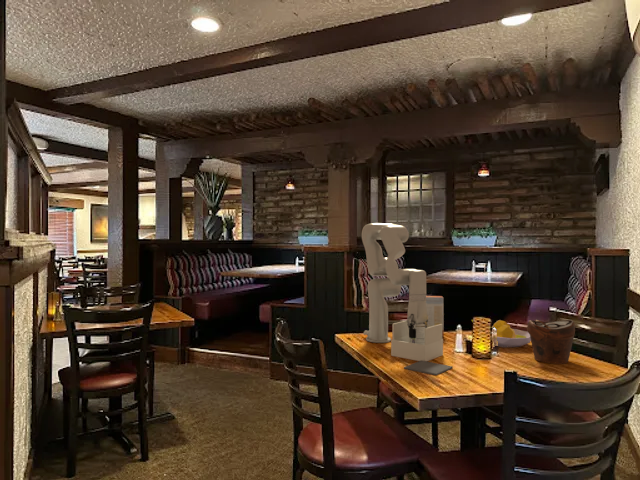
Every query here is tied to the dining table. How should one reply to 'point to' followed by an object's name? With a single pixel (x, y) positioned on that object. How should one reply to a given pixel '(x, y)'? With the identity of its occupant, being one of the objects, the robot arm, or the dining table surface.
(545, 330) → the brown flower pot
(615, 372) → the dining table surface
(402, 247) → the robot arm
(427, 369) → the mat
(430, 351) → the carton
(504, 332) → the fruit bowl
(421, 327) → the syrup box
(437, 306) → the cracker box
